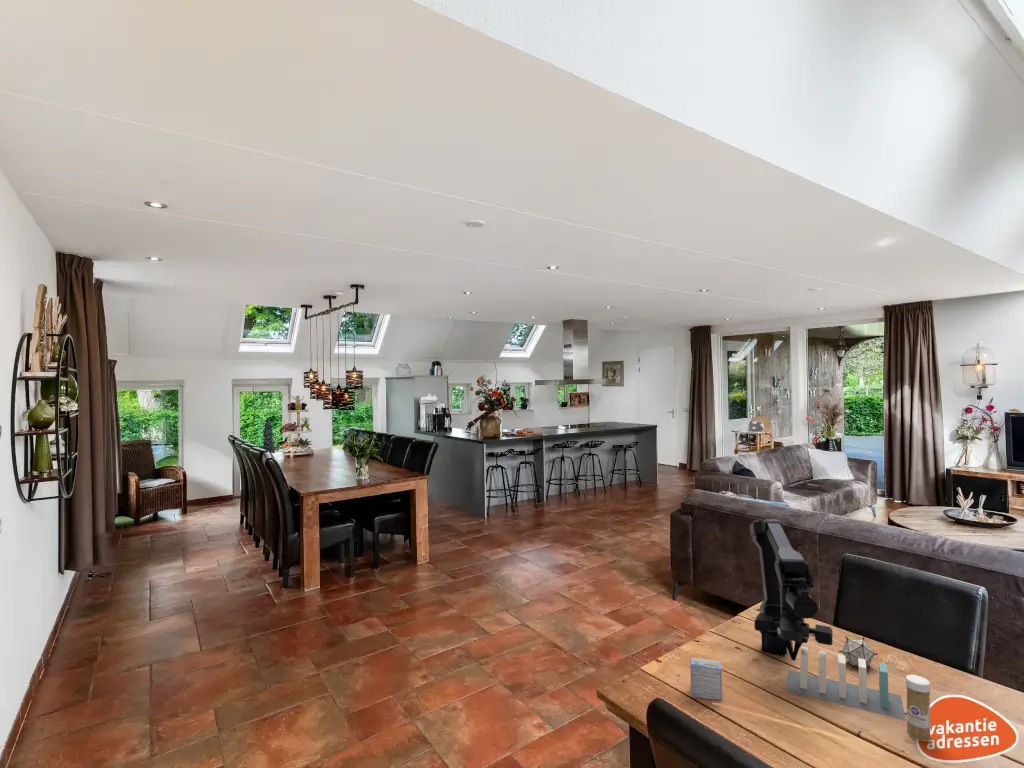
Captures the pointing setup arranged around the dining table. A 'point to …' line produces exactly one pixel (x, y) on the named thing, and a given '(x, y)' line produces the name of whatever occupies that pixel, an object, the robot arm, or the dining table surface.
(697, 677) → the medicine box
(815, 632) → the robot arm
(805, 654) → the domino
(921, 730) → the sprinkles bottle
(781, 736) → the dining table surface
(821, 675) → the domino
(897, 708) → the slate mat
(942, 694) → the dining table surface
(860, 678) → the domino
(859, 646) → the game die
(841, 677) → the domino
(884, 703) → the domino
